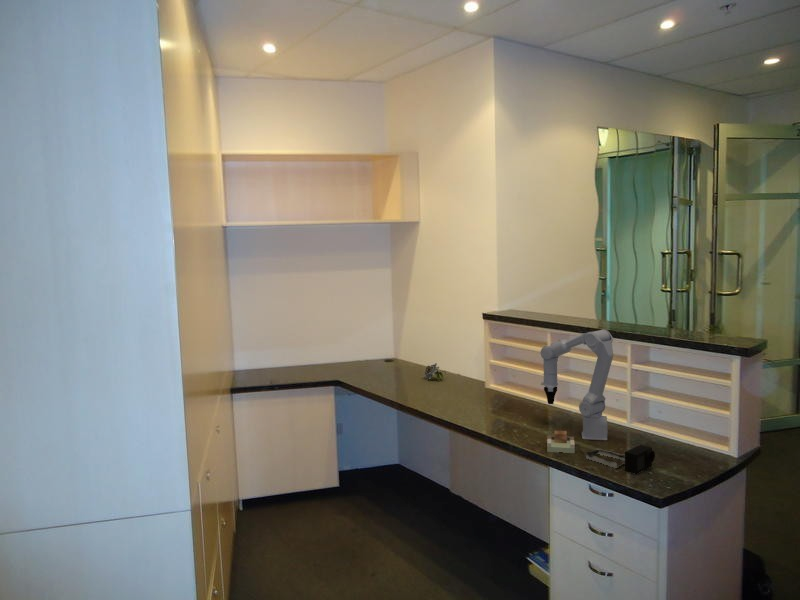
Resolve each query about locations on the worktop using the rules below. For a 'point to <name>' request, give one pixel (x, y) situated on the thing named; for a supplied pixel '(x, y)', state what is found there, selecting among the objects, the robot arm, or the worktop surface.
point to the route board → (560, 445)
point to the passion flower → (433, 372)
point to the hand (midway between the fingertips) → (550, 403)
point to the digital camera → (639, 459)
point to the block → (560, 436)
